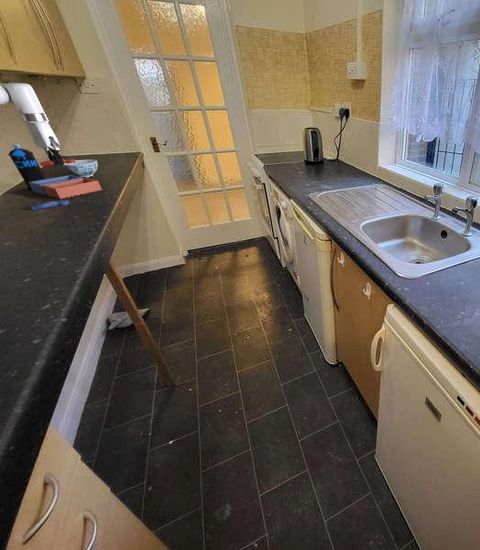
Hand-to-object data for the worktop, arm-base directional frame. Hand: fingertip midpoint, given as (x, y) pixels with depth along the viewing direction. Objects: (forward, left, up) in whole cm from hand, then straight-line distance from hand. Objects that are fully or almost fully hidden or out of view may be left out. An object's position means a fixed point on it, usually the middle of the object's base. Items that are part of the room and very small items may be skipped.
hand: (58, 164), depth 132 cm
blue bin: (+1, +13, -13) cm, 19 cm away
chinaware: (+21, +32, -13) cm, 41 cm away
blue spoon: (-14, -15, -13) cm, 24 cm away
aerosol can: (-2, +26, -13) cm, 30 cm away
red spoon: (+1, 0, 0) cm, 1 cm away
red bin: (+1, 0, -13) cm, 13 cm away
